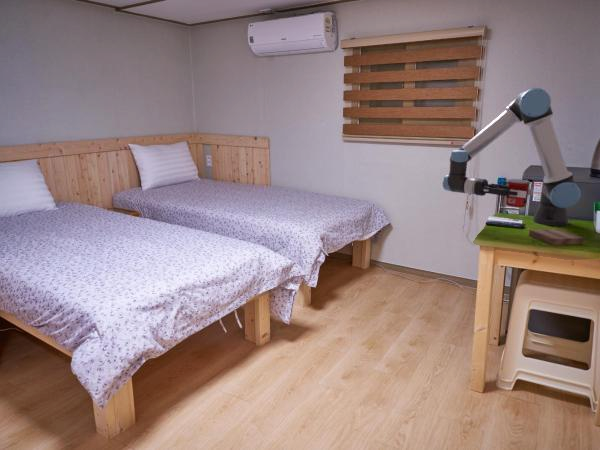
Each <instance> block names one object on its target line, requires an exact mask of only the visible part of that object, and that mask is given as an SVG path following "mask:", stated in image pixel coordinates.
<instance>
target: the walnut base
mask: <svg viewBox="0 0 600 450" xmlns="http://www.w3.org/2000/svg"><path fill="white" fill-rule="evenodd" d="M528 236H529V237H531V238H533V239H536V240H538V241H541V242H543V243H545V244H548V245H550V246H564V245H565V246H566V244H569V245H582V244H583V242H584V237H582V236H579V235H577V234H574V233H570V232H568V231H565V230H563V229H560V228H550V229H548V228H546V229H529V231H528Z"/></svg>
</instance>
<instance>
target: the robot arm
mask: <svg viewBox="0 0 600 450" xmlns="http://www.w3.org/2000/svg"><path fill="white" fill-rule="evenodd" d="M551 100H552V99H551V97H550V94H549V93H548V92H547V91H546V90H545V89H543V88H540V87H532V88H528V89H525V90H523V91H522V92H520V93H519V94H518V96H516V98H514V100H512V101H511V103H508V105H507V106H506V107H505V110H504V111H503V112H502V113H500V115H499V116H497V117H496V118H495V119H493V120H492V121H491V122H490V123H489V124H488V125H486V126H485V127H484V128H482V129H481V130H480V131H479V132H478V133H476V135H474V136H473V137H472V138H471V139H469V140H468V141H467V142H466V143H464V144H463V145H462V146H461V147H460V148H459V149H454V150H452V151H451V152H450V153H451V154H450V157H449V172H448V174H446V175H445V176H444V177H443V180H442V188H443V189H444V190H445V191H449V192H452V193H461V194H468V196H471V195H476V196H481V197H484V196H485V195H486V194H490V195H496V196H497V195H498V196H502V197H506V198H507V197H509V196H514V197H522V198H526V194H527V191H520V190H512V189H510V191H509V190H508V184H498V183H489V181H488V179H485V178H477V177H472V176H471V177H469V176H467V167H468V162H469V161H471V160H472V159H473V158H474V157H476V156H477V155H478V154H479V153H480V152H483V150H484V149H486V148H487V147H488V146H490V145H491V144H492V143H493V142H494V141H495V140H497V139H498V138H499V137H500V136H502V135H503V134H504V133H506V132H507V131H508V130H509V129H510V128H512V127H513V126H514V125H516V124H517V123H518V124H519V123H521V122H523V125H525V126H527V127H529V130H530V133H531V136H532V139H533V143H534V147H535V148H536V152H537V154H538V157H539V160H540V164H541V166H542V170H543V173H544V176H543V179H542V186H541V191H540V192H541V193H540V201H539V205H538V207H537V209H536V210H535V214H533V219H532V221H534V222H535V223H538V224H542V225H545V226H556V227H558V226H559V227H563V226H569V224H570V217H569V212H568V208H572V207H573V206H575V205H576V204H578V202H579V201H580V198H581V196H582V193H581V189H580V187H579V186H578V185H577V183H576V180H575V177H574V174H573V172H571V171H568V169H567V166H566V163H565V160H564V157H563V153H562V151H561V147H560V144H559V142H558V139H557V138H558V137H557V135H556V132H555V129H554V126H553V123H552V120H551V119H552V117H553V115H554V113H553V109H552V106H551V103H552V101H551ZM533 193H534V188H528V195H527V196H533Z"/></svg>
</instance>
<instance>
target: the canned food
mask: <svg viewBox="0 0 600 450" xmlns="http://www.w3.org/2000/svg"><path fill="white" fill-rule="evenodd" d="M507 185H508V190H509V191H510V189H512V190H520V191H527V194H526V198H522V197H514V196H509V197H506V200H505V204H506V206H508V207H512V208H525V207H526V206H527V200H528V196H529V195H528V188H529V187H530V180H526V179H520V178H519V179H518V178H516V179H515V178H514V179H513V178H512V179H509V180H508V182H507ZM529 189H530V188H529Z"/></svg>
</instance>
